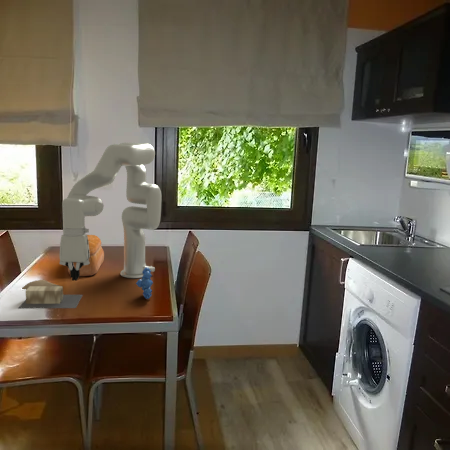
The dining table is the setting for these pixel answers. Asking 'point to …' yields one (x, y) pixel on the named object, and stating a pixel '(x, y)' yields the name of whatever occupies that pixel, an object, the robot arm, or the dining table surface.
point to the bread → (92, 257)
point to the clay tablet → (39, 284)
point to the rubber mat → (67, 302)
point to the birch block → (44, 295)
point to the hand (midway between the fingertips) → (75, 279)
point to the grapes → (146, 283)
